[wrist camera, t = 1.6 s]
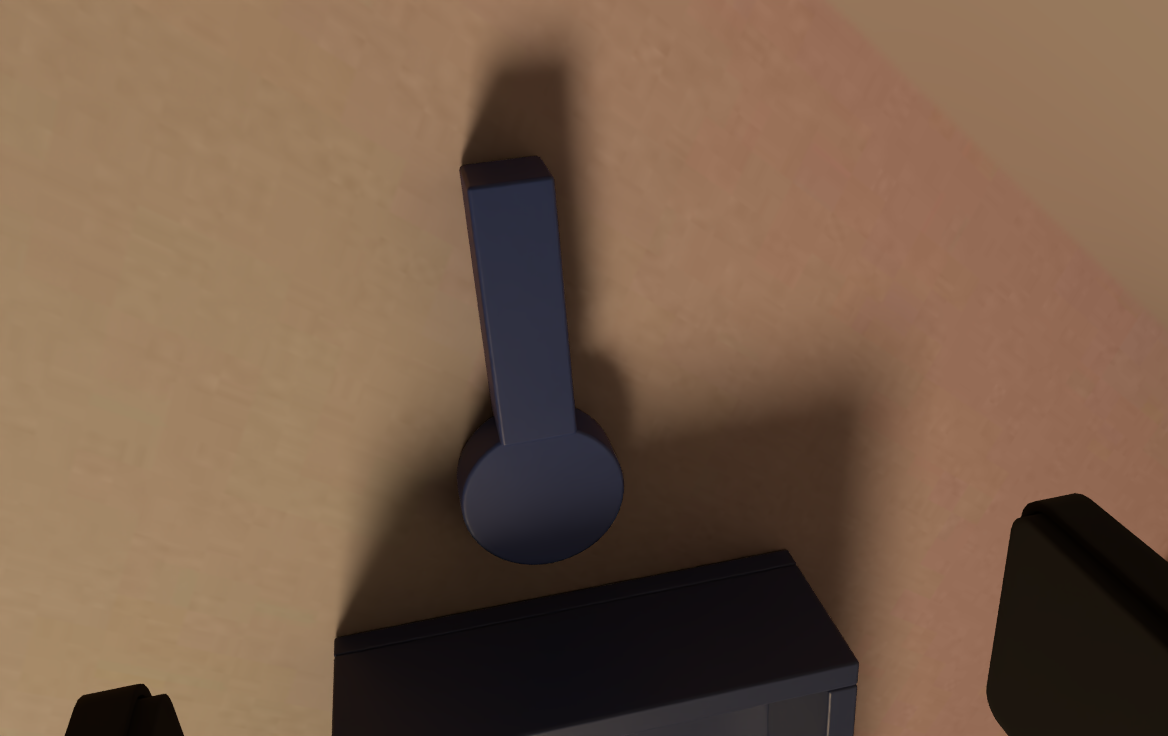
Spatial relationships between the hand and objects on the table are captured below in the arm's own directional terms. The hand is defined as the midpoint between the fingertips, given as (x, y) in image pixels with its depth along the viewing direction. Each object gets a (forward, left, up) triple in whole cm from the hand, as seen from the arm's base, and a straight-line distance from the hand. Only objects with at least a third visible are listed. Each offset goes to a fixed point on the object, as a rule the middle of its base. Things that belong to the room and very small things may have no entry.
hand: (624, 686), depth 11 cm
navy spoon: (+1, 0, -11) cm, 11 cm away
